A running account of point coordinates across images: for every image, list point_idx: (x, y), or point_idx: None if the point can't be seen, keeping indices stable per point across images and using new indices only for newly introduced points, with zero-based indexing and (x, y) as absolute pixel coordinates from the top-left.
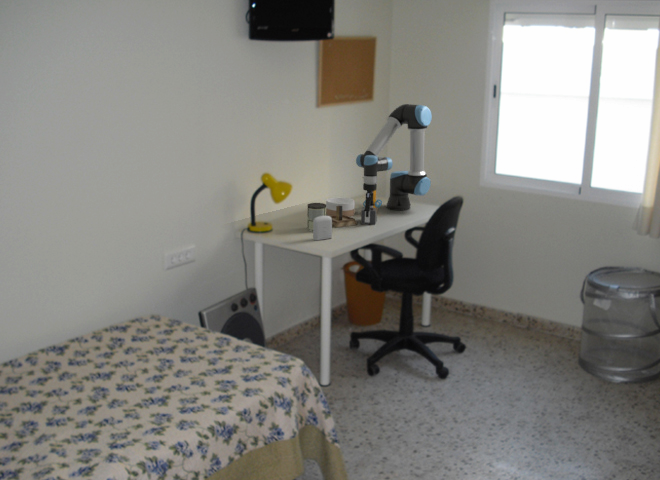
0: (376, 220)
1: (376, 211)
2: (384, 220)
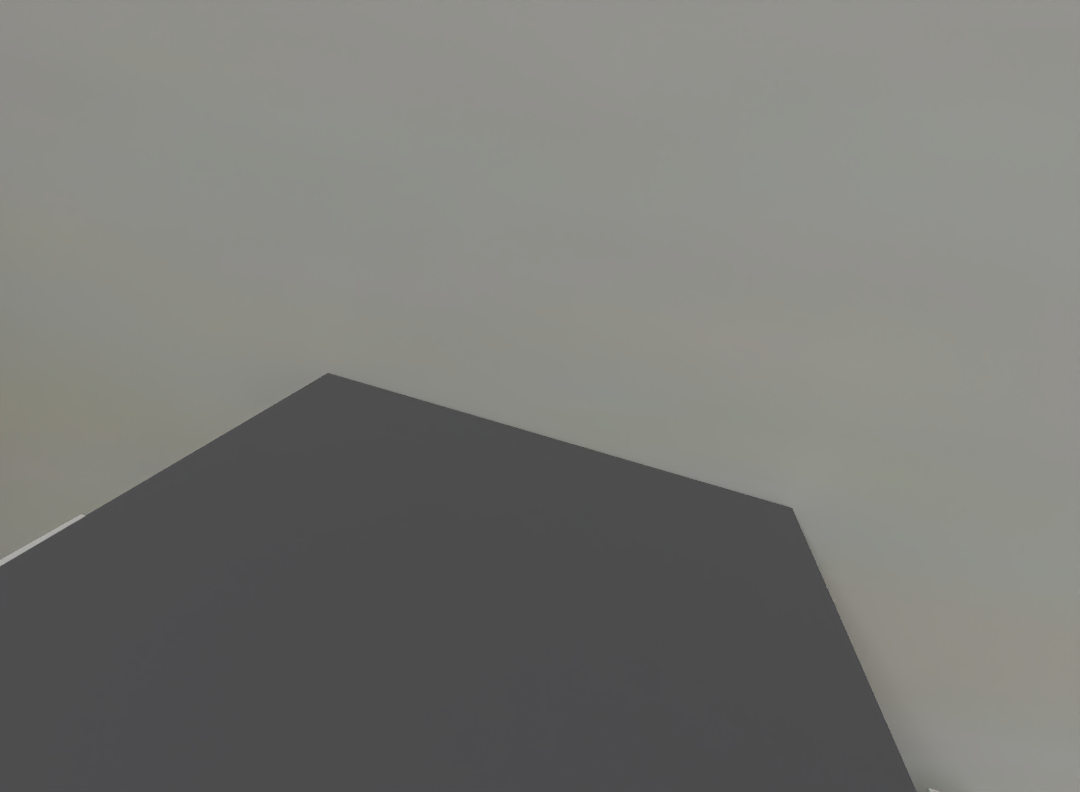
0: (355, 400)
1: (235, 680)
2: (158, 57)
